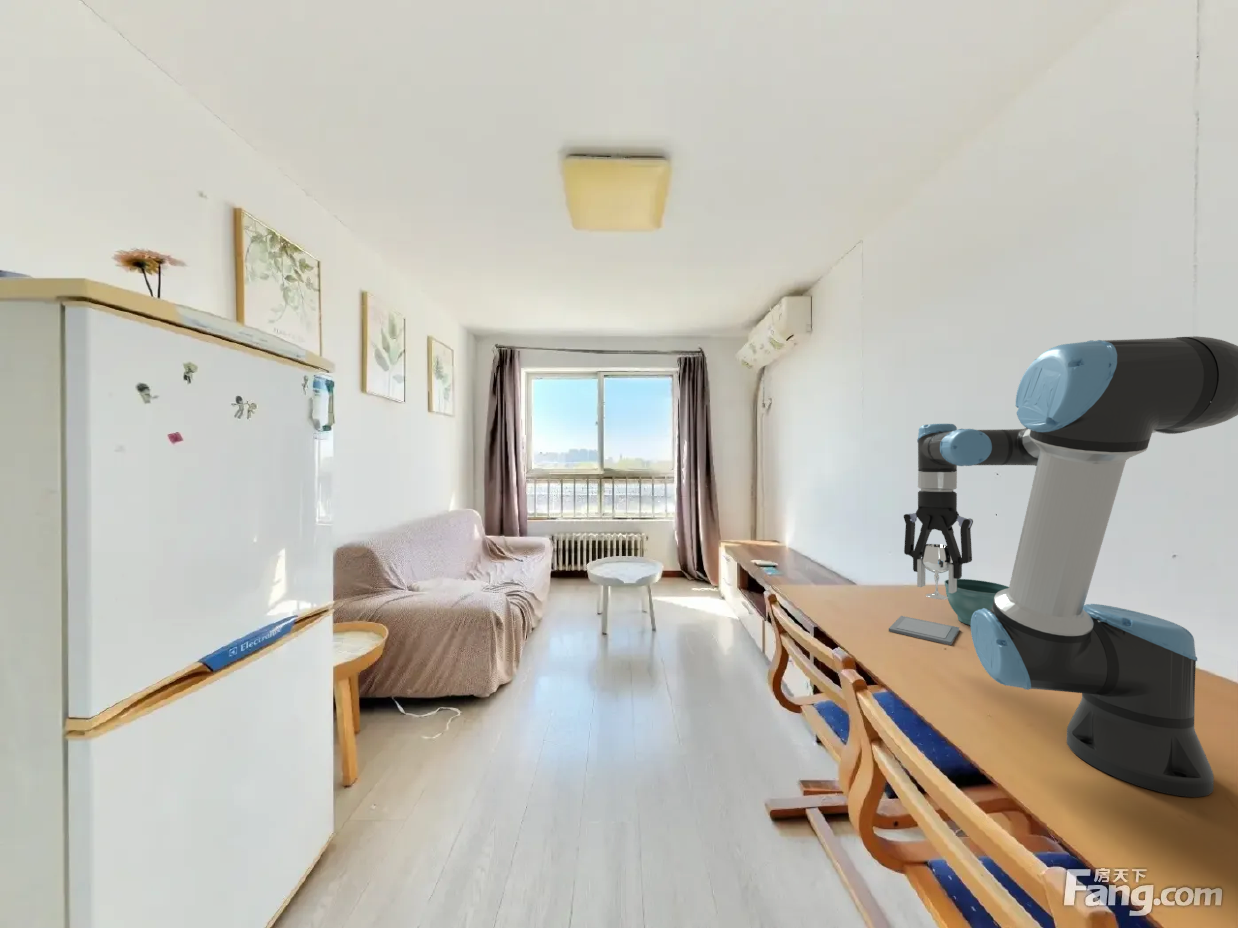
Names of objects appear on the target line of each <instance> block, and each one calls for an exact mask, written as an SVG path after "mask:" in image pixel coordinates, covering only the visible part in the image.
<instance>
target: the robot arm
mask: <svg viewBox="0 0 1238 928" xmlns="http://www.w3.org/2000/svg"><path fill="white" fill-rule="evenodd" d="M1017 387H1018V388H1017V392H1016V395H1015V407H1016V408H1018V409H1017V411H1016V416H1017V419H1018V421H1019V423H1021V425H1022V426H1023V427H1024V428H1017V429H1013V428H1012V429H974V428H959V429H958V428H957V426H956V424H954V423H929V424H923V425H921V426H920V427H919V428H918V435H917V439H916V440H917V465H918V466H917V468H918V469H917V487H918V489H920V490H919V491H917V509H916V512H915V513H913V512H912V513H905V514H903V519H904V522H905V529H904V530H905V531H904V532H905V533H904V548H903V549H904V550H903V552H904V555H906V556H910V557H911V558H912V563H913V564H912V570H913V572H916V575H917V576H916V577H917V578H916V581H917V585H916V587H917V588H922V587H925V586H926V568H925V567H924V565H923V563H922V554H923V549H924V546H925V544H928V540H929V536H930V534H931V532H932V530H935V531H940V532H941V534H942V536H943V537H944V541H945V543H946V544H945V545H946V546H947V547H948V550H949V553H950V556H951V559H952V563H951V564H949V570H948V580H949V593H954V592H957V579H962V577H963V575H962V574H963V573H962V572H963V569H962V567H963V565H965V564H969V563H971V562H972V561H973V551H972V534H971V533H972V532H971V530H972V529H971V528H972V527H973V525H974V520H973V518H966V517H963V516H961V515H959V512H958V510H957V509H958V506H957V505H958V503H957V502H958V499H957V498H958V493H956V491H954V490H956V489H957V488H958V487H957V483H958V480H957V479H958V468H957V467H964V466H965V467H972V466H1035V467H1036V468H1035V471H1034V477H1033V480H1032V484H1031V490H1030V494H1029V498H1028V503H1027V507H1026V511H1025V516H1024V521H1023V526H1022V528H1021V529H1022V530H1021V534H1020V538H1019V543H1018V547H1017V551H1016V556H1015V560H1014V565H1013V569H1012V573H1011V577H1010V581H1009V585H1008V587H1009V588H1007V589H1004V590H1001V591H999V592H997V593H996V595H995V597H994V601H993V605H992V609H991V610H988V609H985V608H983V609H980V610H977V611H975V612H974V613H973V615H972V618H971V625H970V633H971V640H972V644H973V647H974V649H975V650H974V651H975V654H976V655H977V656H976V657H978V660H979V662H980V664H981V666H982V667H983V669H984V670H985V673H987V674H988V675H989V677H990V678H992V679H993V681H995V682H997V683H998V684H1000V685H1004V686H1007V687H1008V686H1009V687H1013V688H1021V689H1024V690H1028V691H1029V690H1044V691H1055V692H1063V693H1064V692H1067V693H1077V694H1081V700H1080V702H1079V703H1078V706H1077V708H1076V710H1075V711H1074V713H1073V715H1072V718H1071V719H1070V721H1069V723H1068V725H1067V727H1066V745H1067V746H1068V748H1069V749H1070V750H1071V751H1072V753H1074V754H1075V755H1076V756H1077V757H1078V758H1080V759H1081V760H1083V761H1084V762H1086V763H1087V764H1089V765H1091V766H1092V767H1094V768H1096V769H1098V770H1100V771H1101V772H1104V773H1105V774H1108V775H1110V776H1112V777H1114V778H1117V779H1118V780H1121V781H1124V782H1126V783H1130V784H1132V785H1134V786H1135V785H1136V786H1139V787H1141V788H1144V789H1148V790H1151V791H1155V792H1159V793H1163V794H1167V795H1173V796H1178V797H1179V796H1180V797H1188V798H1200V797H1206V796H1208V795H1211V794H1212V793H1213V792H1214V773H1213V772H1214V771H1213V769H1212V767H1211V765H1210V763H1209V759H1208V758H1207V756H1206V753H1205V751H1204V748H1203V746H1202V744H1201V741H1200V739H1199V737H1198V735H1197V733H1196V729H1195V713H1196V711H1195V708H1196V707H1195V706H1196V705H1195V704H1196V703H1195V701H1196V699H1195V696H1196V695H1195V693H1196V690H1195V689H1196V688H1195V687H1196V668H1197V667H1196V665H1197V664H1196V663H1197V662H1198V657H1197V656H1196V655H1197V654H1196V648H1195V647H1196V645H1195V637H1194V636H1193V634H1192V633H1191V632H1190V631H1189V630H1188V629H1187V628H1185V626H1182V625H1179V624H1178V623H1175V622H1172V621H1169V620H1167V619H1165V618H1160V617H1157V616H1154V615H1150V614H1146V613H1143V612H1139V611H1136V610H1131V609H1127V608H1121V607H1117V606H1111V605H1105V604H1099V603H1098V604H1097V603H1088V604H1087V603H1086V599H1087V595H1088V592H1089V590H1090V585H1091V582H1092V578H1093V575H1094V572H1095V569H1096V565H1097V561H1098V558H1099V555H1100V552H1101V548H1102V545H1103V542H1104V538H1105V534H1106V531H1107V527H1108V523H1109V521H1110V517H1111V514H1112V510H1113V506H1114V503H1115V500H1116V497H1117V493H1118V490H1119V486H1120V483H1121V479H1122V476H1123V473H1124V468H1125V465H1126V462H1127V461H1128V460H1129V459H1130V458H1133V457H1134V456H1137V455H1140V454H1142V453H1144V452H1146V451H1147V450H1148V447H1149V444H1150V441H1151V437H1152V434H1154V433H1161V434H1165V435H1175V434H1182V433H1187V432H1191V431H1195V430H1199V429H1203V428H1207V427H1212V426H1215V425H1218V424H1222V423H1224V422H1228V421H1230V420H1231V419H1233V418H1235V417H1237V416H1238V345H1237V344H1234V343H1232V342H1229V341H1227V340H1222V339H1218V338H1214V337H1209V336H1207V337H1206V336H1194V335H1193V336H1179V337H1166V338H1165V337H1164V338H1161V337H1160V338H1140V339H1139V338H1136V339H1135V338H1134V339H1105V340H1104V339H1103V340H1101V339H1098V340H1087V341H1080V342H1071V343H1065V344H1059V345H1056V346H1053V347H1050V348H1049V349H1047V350H1046V351H1043V352H1042V353H1041V354H1040V355H1039V356H1038V357H1037V358H1035V359H1034V360H1033V361H1032V362H1031V363H1030V365H1029V366H1028V367H1027V369H1026V371H1024V374H1023V375H1022V376H1021V380H1020V382H1019V383H1018V386H1017ZM917 519H918V520H919V521H920V523H921V524H922V525H921V527H920V533H919V535H918V538H917V541H916V544H915V538H916V537H915V535H916V523H917ZM956 522H958V526H959V527H960V549H961V552H960V550H959V546H958V543H957V539H956V538H955V532H954V528H953V525H954V524H955V523H956ZM1085 603H1086V604H1085Z"/></svg>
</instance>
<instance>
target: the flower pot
mask: <svg viewBox="0 0 1238 928" xmlns="http://www.w3.org/2000/svg"><path fill="white" fill-rule="evenodd" d="M944 586H945V587H944V588H945V594H946V595H945V596H947V597H948V599H947V601H948V604H949V605H950V607H951V609H952V610H953V612H954V613H955V614H956V615H957V620H958V621H959V622H960V623H963V624H966V625H967V626H971V618H972V615H973V613H974V612H975V611H977V610H980V609H983V608H985V609H988V610H991V609H992V605H993V601H994V597H995V595H996V593H997V592H999V591H1001V590H1004V589H1007V588H1009V585H1008V586H1007V585H1005V584H1000V583H997V582H992V581H991V582H990V581H985V580H980V579H979V580H978V579H969V578H960V579H957V592H954V593H949V579H945V580H944Z"/></svg>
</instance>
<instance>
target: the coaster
mask: <svg viewBox="0 0 1238 928" xmlns="http://www.w3.org/2000/svg"><path fill="white" fill-rule="evenodd" d="M888 632H890V633H895V634H899V635H902V636H908V637H913V638H918V639H922V640H925V641H931V642H934V643H938V644H939V643H940V644H944V645H949V646H952V644H953V642H954V641H955V640H956V638H957V635H958V634H959V632H960V626H959V627H958V626H956V625H955V626H954V625H949V624H946V623H939V622H936V621H935V622H934V621H930V620H926V619H925V620H924V619H920V618H915V617H910V616H905V615H900V616H899V617H898V618H897V619H896V620H895V621H893V623H892V624H891V626H890V627H888Z"/></svg>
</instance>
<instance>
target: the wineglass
mask: <svg viewBox="0 0 1238 928" xmlns="http://www.w3.org/2000/svg"><path fill="white" fill-rule="evenodd" d="M921 558H922V563H923V565H924V567H925V570H927V571H930V572H932V573H934V576H933V579H934V583H935V590H934V592H933V593H926V594H925V595H924V596H925V597H927V598H929V599H935V600H948V597H947V595H943V594H941V593H940V592H939V581H940V575H939V574H942V573H946V572H949V564H951V563H953V562H952V559H951V556H950V553H949V550H948V547H947V544H937V543H926V544H925V546H924V549H923V554H922V557H921Z"/></svg>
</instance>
